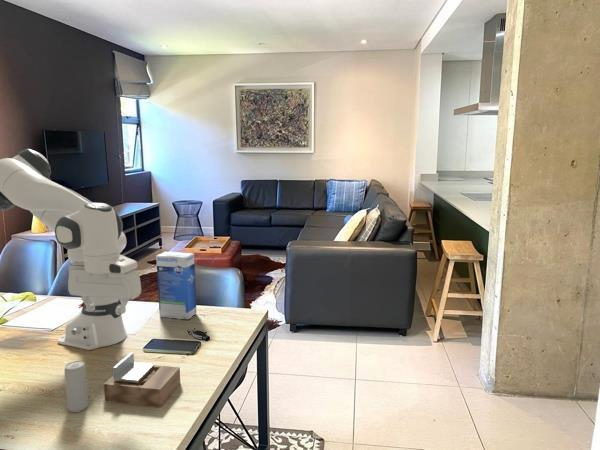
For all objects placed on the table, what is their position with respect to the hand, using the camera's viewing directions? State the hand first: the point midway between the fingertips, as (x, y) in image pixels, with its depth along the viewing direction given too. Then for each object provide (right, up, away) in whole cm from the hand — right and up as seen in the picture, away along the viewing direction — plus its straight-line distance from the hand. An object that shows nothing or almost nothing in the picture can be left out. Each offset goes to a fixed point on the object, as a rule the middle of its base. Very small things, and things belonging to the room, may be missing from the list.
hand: (106, 311), depth 121 cm
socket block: (+10, -23, +1) cm, 25 cm away
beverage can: (-4, -24, -7) cm, 25 cm away
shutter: (+8, -17, +1) cm, 19 cm away
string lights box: (+4, -13, +57) cm, 59 cm away
